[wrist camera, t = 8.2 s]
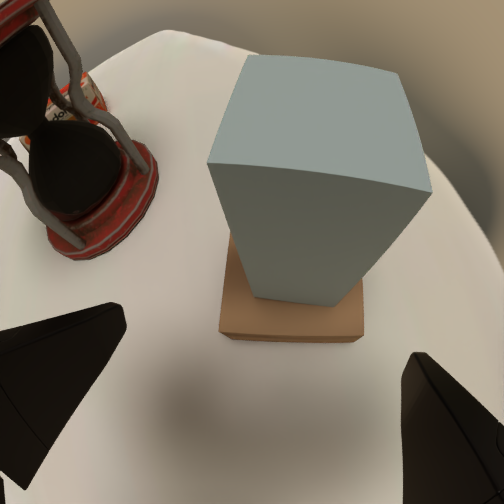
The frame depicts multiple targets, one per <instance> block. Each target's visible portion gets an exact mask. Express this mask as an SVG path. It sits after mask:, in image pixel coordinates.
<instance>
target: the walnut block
mask: <svg viewBox="0 0 504 504" xmlns="http://www.w3.org/2000/svg"><path fill="white" fill-rule="evenodd" d="M219 332H220V333H222V334H224V335H225V336H227V337H229V338H231V339H236V340H251V341H270V342H302V343H348V342H355V341H356V340H358V339H359V338H361V337H362V336H364V307H363V283H362V278H361V279H360V281H359V282H358V283H357V284H356V285H355V286H354V287H353V288H352V289H351V290H350V291H349V292H348V293H347V294H346V295H345V296H344V297H343V298H342V299H341V300H340V302H339V303H338V304H337V305H336V306H335V307H327V306H318V305H310V304H302V303H294V302H287V301H279V300H272V299H265V298H258V297H254V296H253V293H252V291H251V288H250V285H249V282H248V279H247V277H246V274H245V271H244V268H243V265H242V263H241V260H240V257H239V254H238V251H237V249H236V246H235V243H234V240H233V237H232V234H231V231H230V239H229V247H228V255H227V263H226V271H225V279H224V287H223V296H222V305H221V313H220V322H219Z"/></svg>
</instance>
